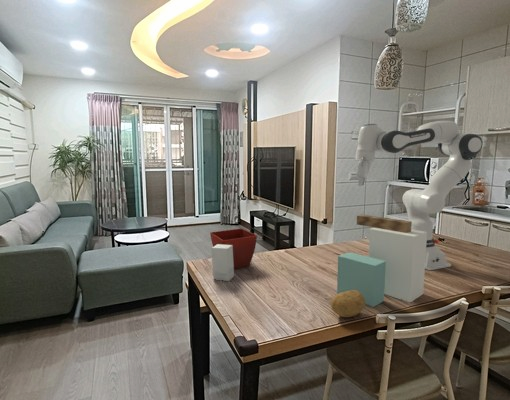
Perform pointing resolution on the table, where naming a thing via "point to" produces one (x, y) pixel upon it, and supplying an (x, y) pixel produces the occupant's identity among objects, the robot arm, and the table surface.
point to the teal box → (362, 276)
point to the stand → (400, 260)
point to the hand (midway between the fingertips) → (361, 185)
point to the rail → (384, 223)
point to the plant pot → (237, 244)
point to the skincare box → (223, 262)
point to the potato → (348, 303)
